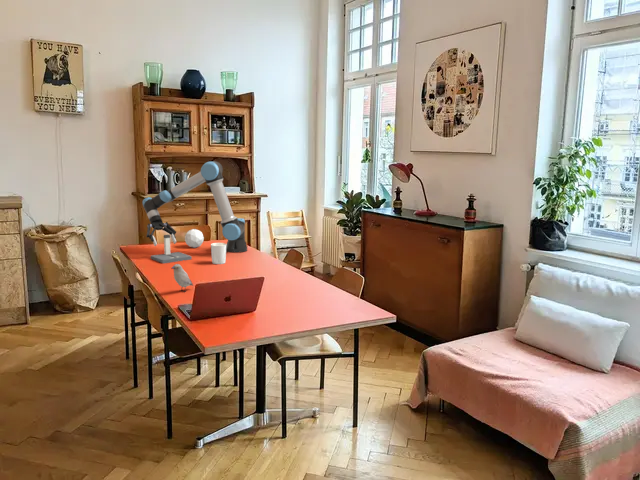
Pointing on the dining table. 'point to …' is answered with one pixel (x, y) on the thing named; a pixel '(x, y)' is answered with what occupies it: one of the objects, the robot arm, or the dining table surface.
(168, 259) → the board
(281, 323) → the dining table surface
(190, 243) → the geodesic sphere
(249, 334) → the dining table surface
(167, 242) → the fader knob
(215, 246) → the candle holder
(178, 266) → the bird
